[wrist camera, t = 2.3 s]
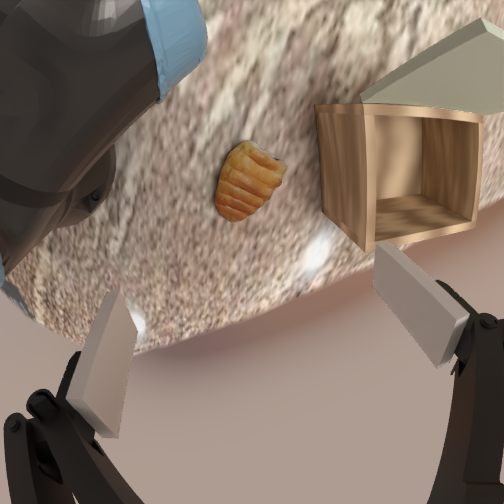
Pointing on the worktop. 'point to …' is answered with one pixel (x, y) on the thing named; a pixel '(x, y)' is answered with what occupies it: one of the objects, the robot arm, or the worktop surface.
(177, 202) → the worktop surface
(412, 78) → the lid
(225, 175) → the pastry
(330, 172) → the box
